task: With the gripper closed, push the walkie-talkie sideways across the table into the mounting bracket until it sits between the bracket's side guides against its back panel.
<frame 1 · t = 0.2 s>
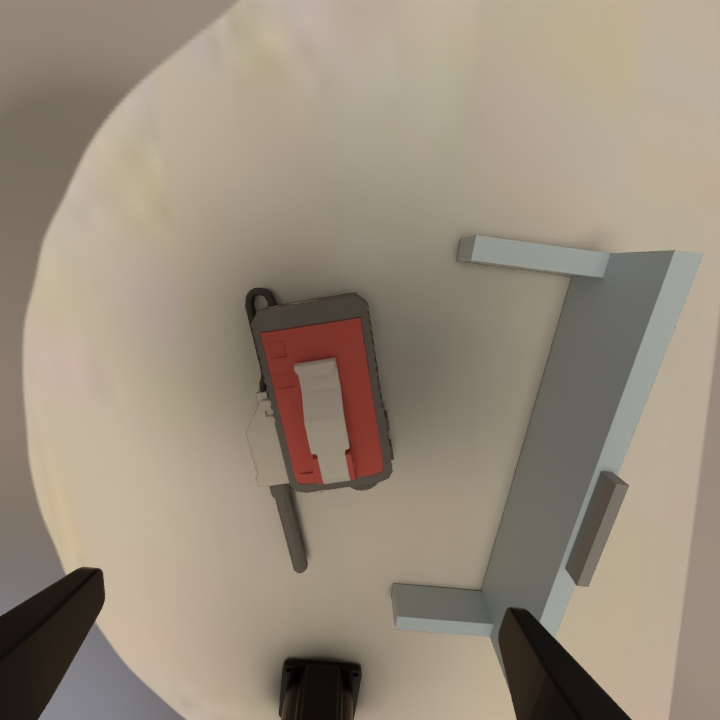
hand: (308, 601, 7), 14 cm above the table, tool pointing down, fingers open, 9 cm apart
mounting bracket: (469, 450, 22), on the table
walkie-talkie: (323, 430, 23), on the table
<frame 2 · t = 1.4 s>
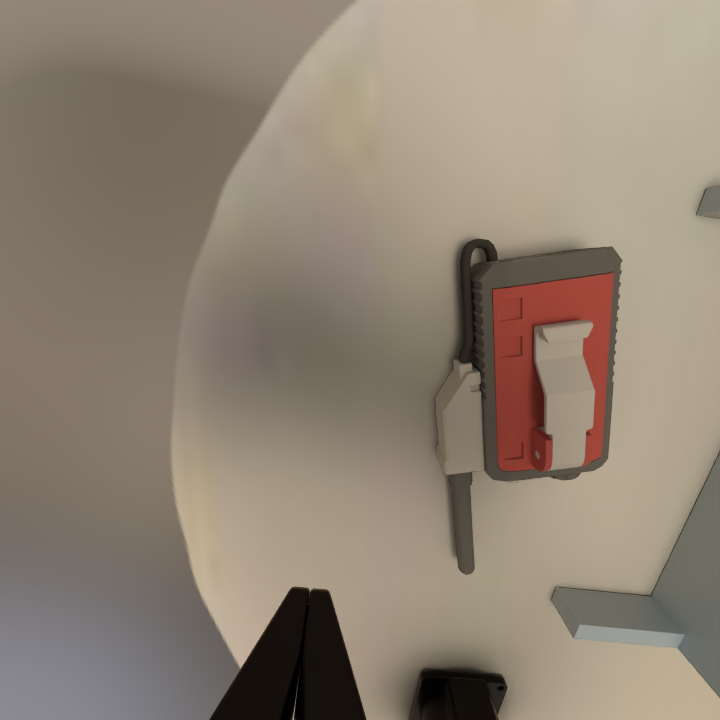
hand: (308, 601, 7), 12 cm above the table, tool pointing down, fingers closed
mounting bracket: (669, 437, 20), on the table
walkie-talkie: (504, 411, 20), on the table
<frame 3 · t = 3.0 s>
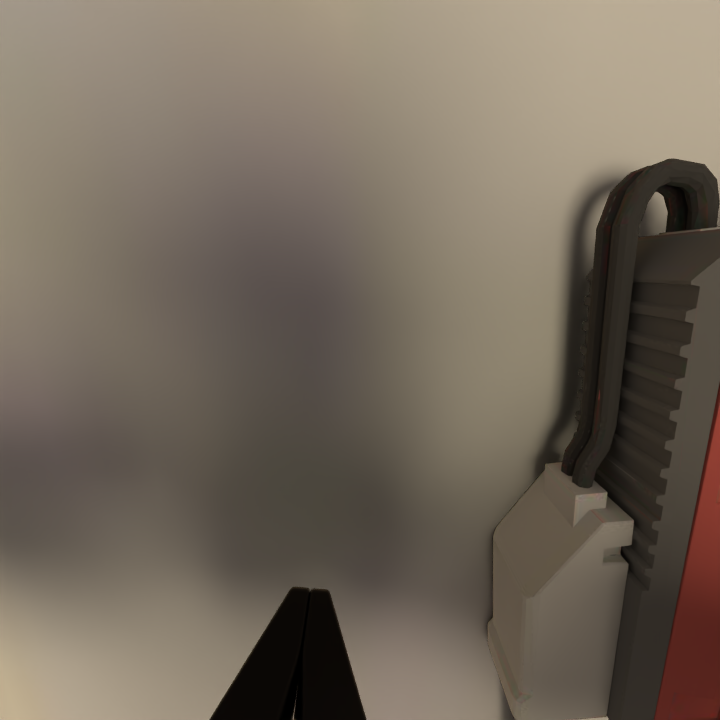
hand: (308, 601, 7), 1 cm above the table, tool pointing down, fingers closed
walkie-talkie: (627, 552, 10), on the table
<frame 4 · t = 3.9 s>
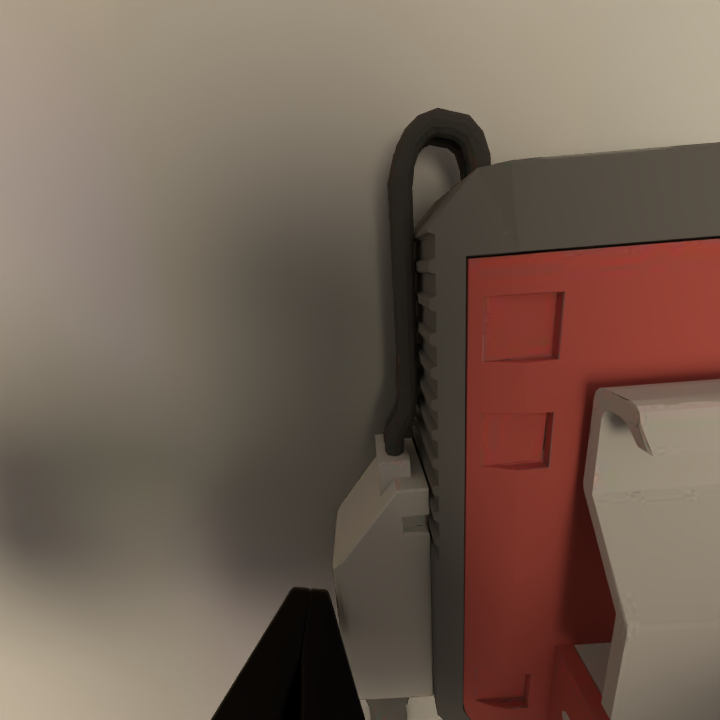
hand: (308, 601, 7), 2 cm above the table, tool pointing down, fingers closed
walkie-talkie: (490, 534, 10), on the table
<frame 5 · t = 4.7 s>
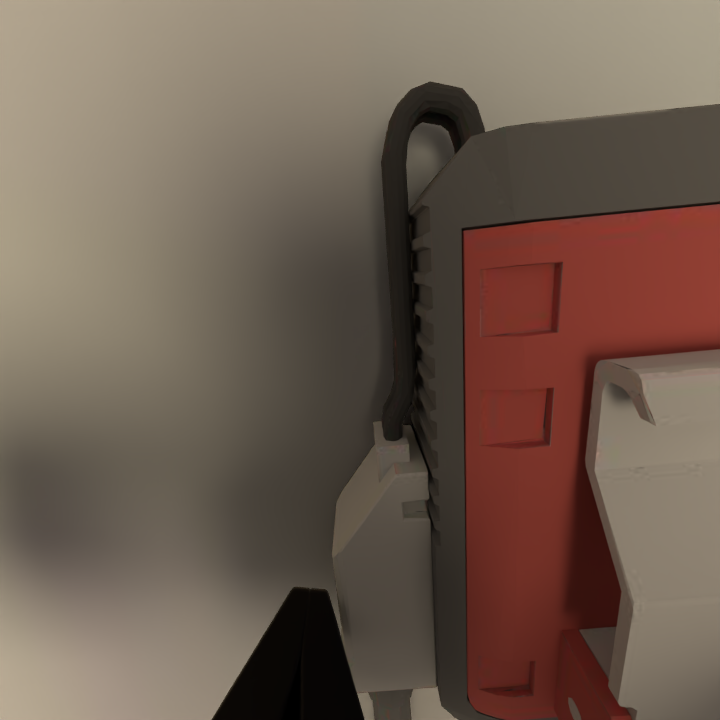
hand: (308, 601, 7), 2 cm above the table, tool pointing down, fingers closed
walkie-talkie: (492, 524, 9), on the table, touching gripper
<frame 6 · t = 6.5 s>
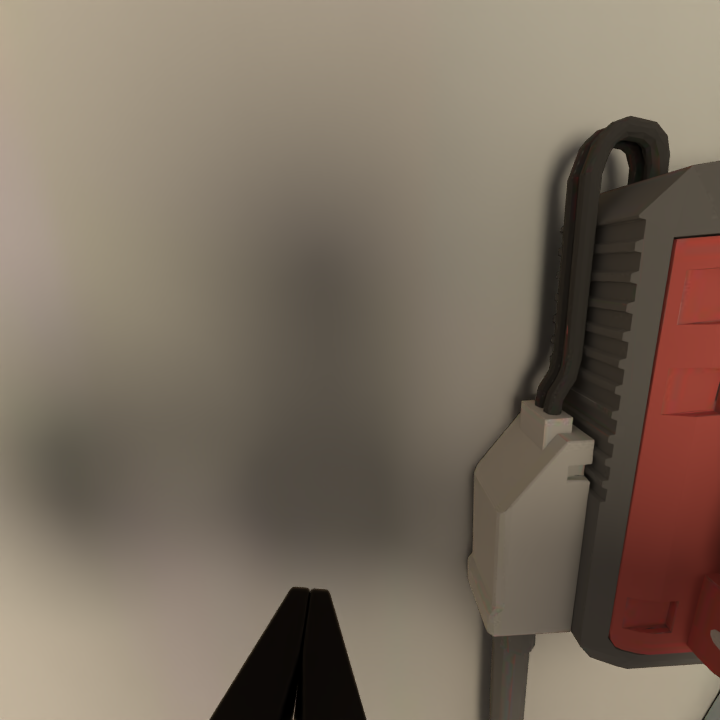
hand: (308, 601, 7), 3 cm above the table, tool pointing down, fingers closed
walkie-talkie: (597, 497, 11), on the table
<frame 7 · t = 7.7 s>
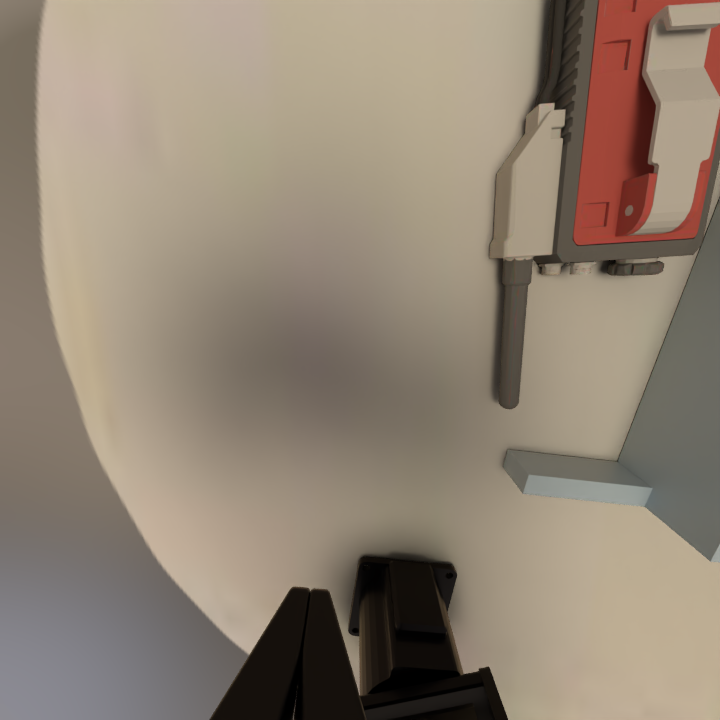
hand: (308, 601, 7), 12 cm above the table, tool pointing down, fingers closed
mounting bracket: (631, 248, 17), on the table
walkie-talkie: (571, 211, 17), on the table
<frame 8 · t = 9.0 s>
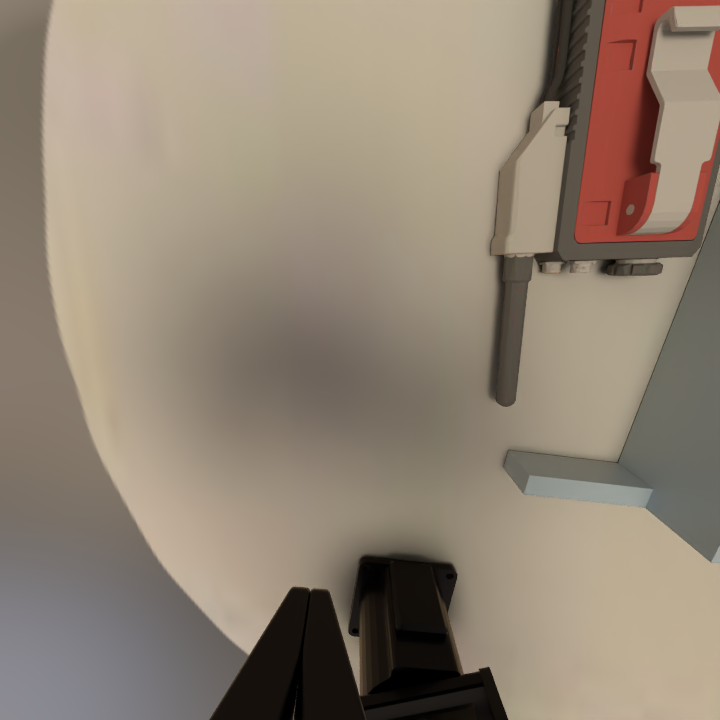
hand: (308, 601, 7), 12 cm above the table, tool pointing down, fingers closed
mounting bracket: (632, 250, 17), on the table
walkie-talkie: (573, 211, 17), on the table
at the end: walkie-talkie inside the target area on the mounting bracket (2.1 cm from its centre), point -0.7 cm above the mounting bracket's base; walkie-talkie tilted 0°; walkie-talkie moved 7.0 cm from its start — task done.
